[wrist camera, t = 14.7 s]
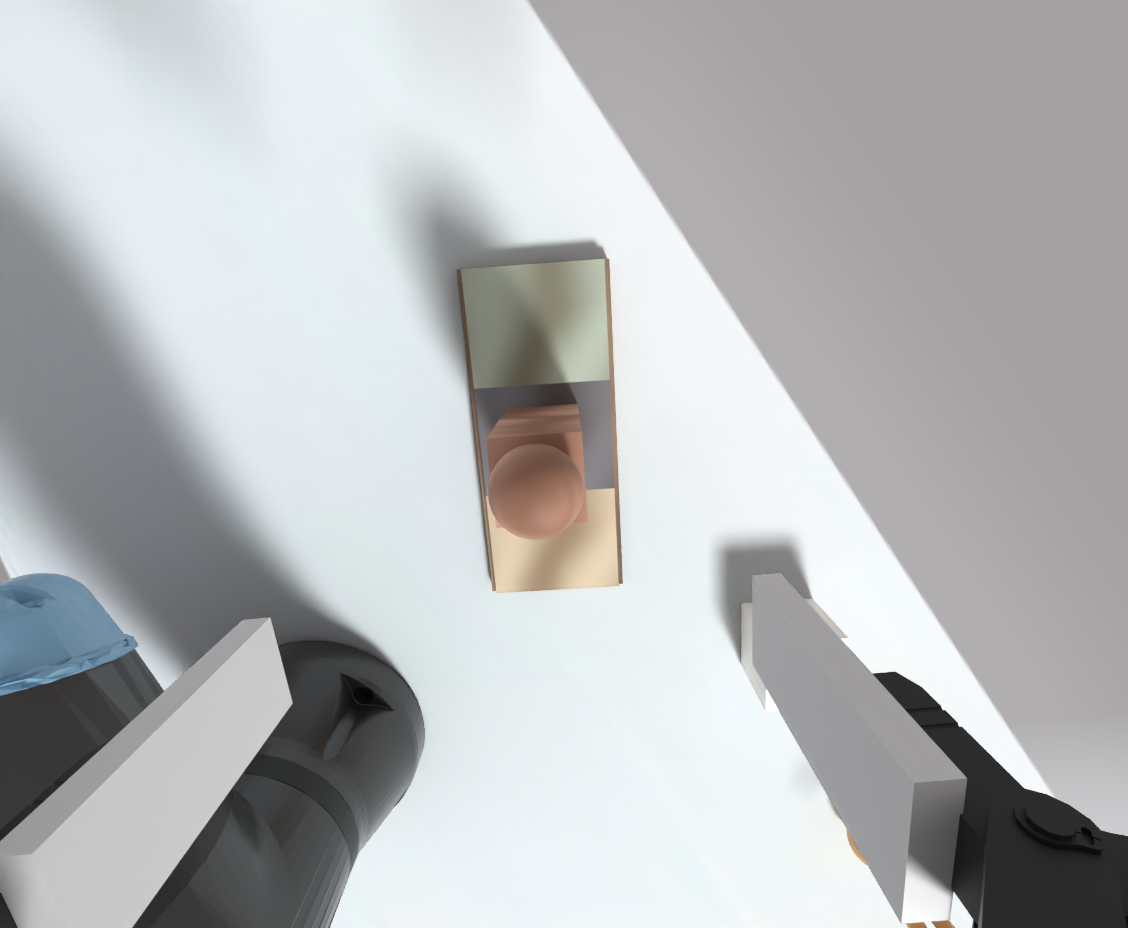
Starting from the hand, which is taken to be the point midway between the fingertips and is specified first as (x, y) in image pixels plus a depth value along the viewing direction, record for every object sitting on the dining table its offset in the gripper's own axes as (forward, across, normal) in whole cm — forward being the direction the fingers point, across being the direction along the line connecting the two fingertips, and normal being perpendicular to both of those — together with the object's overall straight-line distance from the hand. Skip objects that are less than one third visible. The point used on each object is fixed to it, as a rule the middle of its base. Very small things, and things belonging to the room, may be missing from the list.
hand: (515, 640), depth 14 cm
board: (+21, 0, +1) cm, 21 cm away
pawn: (+20, 0, +1) cm, 20 cm away
